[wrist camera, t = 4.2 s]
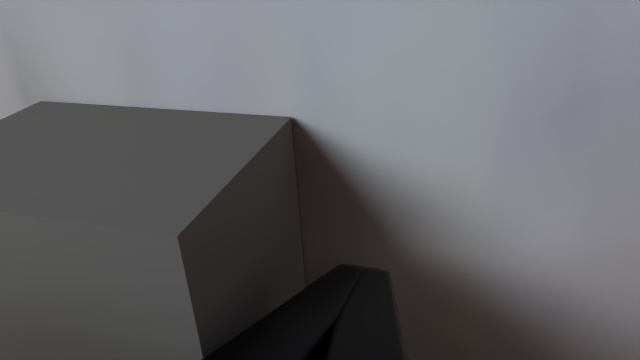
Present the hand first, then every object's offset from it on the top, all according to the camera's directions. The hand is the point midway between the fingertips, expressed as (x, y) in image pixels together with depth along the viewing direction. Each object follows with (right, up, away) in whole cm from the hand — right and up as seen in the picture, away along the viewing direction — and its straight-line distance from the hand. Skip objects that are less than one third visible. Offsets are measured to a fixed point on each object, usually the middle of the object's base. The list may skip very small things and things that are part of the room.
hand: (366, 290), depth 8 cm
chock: (-3, +1, +2) cm, 4 cm away
